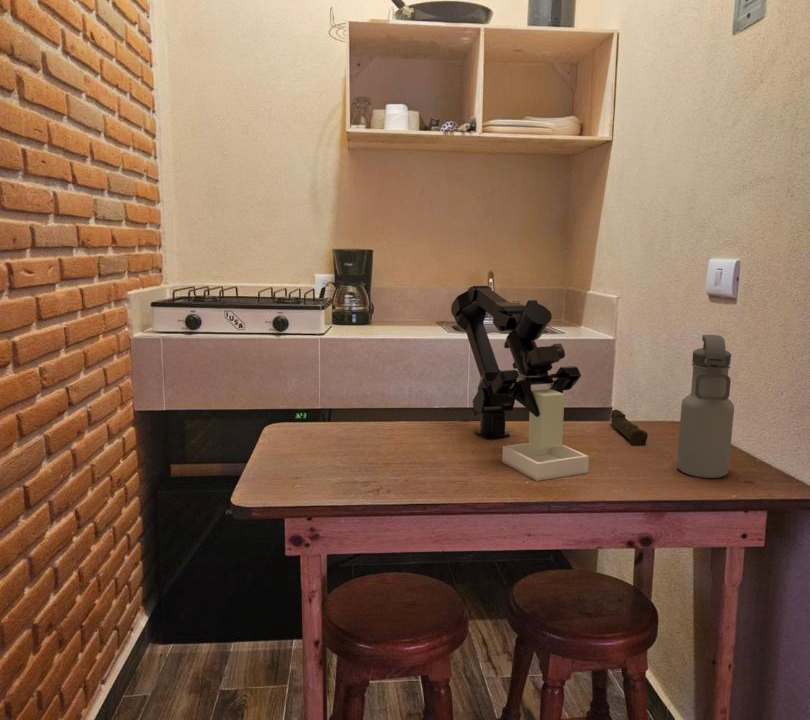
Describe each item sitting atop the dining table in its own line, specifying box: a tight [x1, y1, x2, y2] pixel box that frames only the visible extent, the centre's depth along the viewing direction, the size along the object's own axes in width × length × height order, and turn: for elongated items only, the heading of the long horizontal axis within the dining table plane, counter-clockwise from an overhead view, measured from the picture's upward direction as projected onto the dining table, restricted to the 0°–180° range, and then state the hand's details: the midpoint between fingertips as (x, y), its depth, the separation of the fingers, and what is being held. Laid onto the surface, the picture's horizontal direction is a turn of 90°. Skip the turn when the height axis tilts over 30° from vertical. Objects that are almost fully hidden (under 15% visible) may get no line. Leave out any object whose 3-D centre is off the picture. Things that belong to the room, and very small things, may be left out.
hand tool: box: [610, 409, 649, 446], centre depth 164 cm, size 19×4×5 cm, turn 179°
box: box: [501, 442, 590, 482], centre depth 140 cm, size 13×13×4 cm
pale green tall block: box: [527, 388, 565, 449], centre depth 138 cm, size 5×5×11 cm
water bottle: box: [676, 334, 735, 479], centre depth 135 cm, size 10×10×28 cm
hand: (549, 414), depth 137 cm, fingers closed on pale green tall block, 5 cm apart
